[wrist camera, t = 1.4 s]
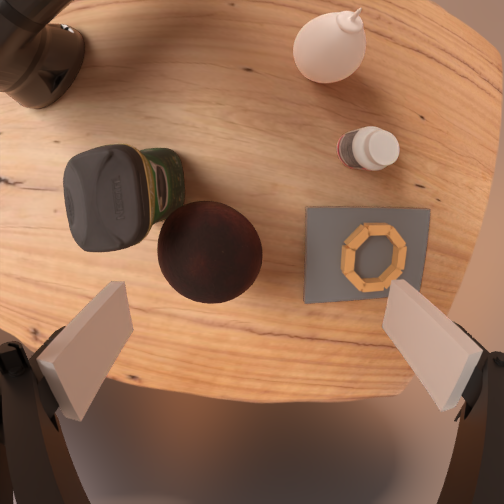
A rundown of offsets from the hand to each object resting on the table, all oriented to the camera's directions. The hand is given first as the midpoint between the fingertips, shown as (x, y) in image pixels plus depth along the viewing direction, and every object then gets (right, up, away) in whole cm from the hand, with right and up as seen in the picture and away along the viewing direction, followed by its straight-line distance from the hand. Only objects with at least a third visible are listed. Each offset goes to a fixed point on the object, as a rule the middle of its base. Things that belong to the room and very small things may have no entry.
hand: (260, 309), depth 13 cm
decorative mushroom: (-5, +6, +26) cm, 27 cm away
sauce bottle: (+8, +28, +20) cm, 35 cm away
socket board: (+17, +2, +28) cm, 33 cm away
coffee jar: (-13, +12, +24) cm, 30 cm away
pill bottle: (+14, +17, +23) cm, 32 cm away
